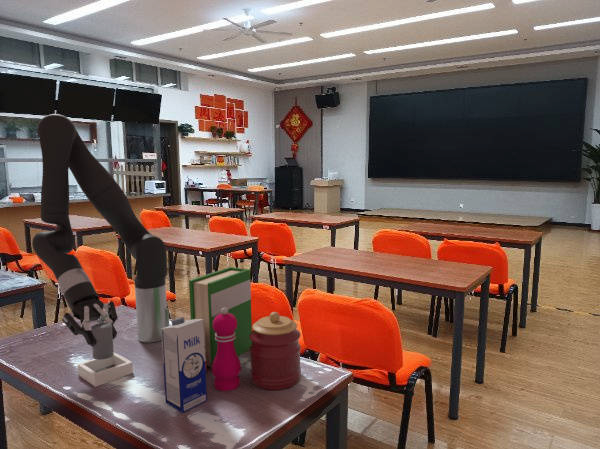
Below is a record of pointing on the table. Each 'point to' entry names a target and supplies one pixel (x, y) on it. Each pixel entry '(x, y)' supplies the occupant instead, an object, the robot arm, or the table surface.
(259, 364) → the canister
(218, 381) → the pepper mill
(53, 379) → the table surface
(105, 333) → the peg
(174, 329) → the milk carton
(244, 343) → the hardback book
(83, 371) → the socket
